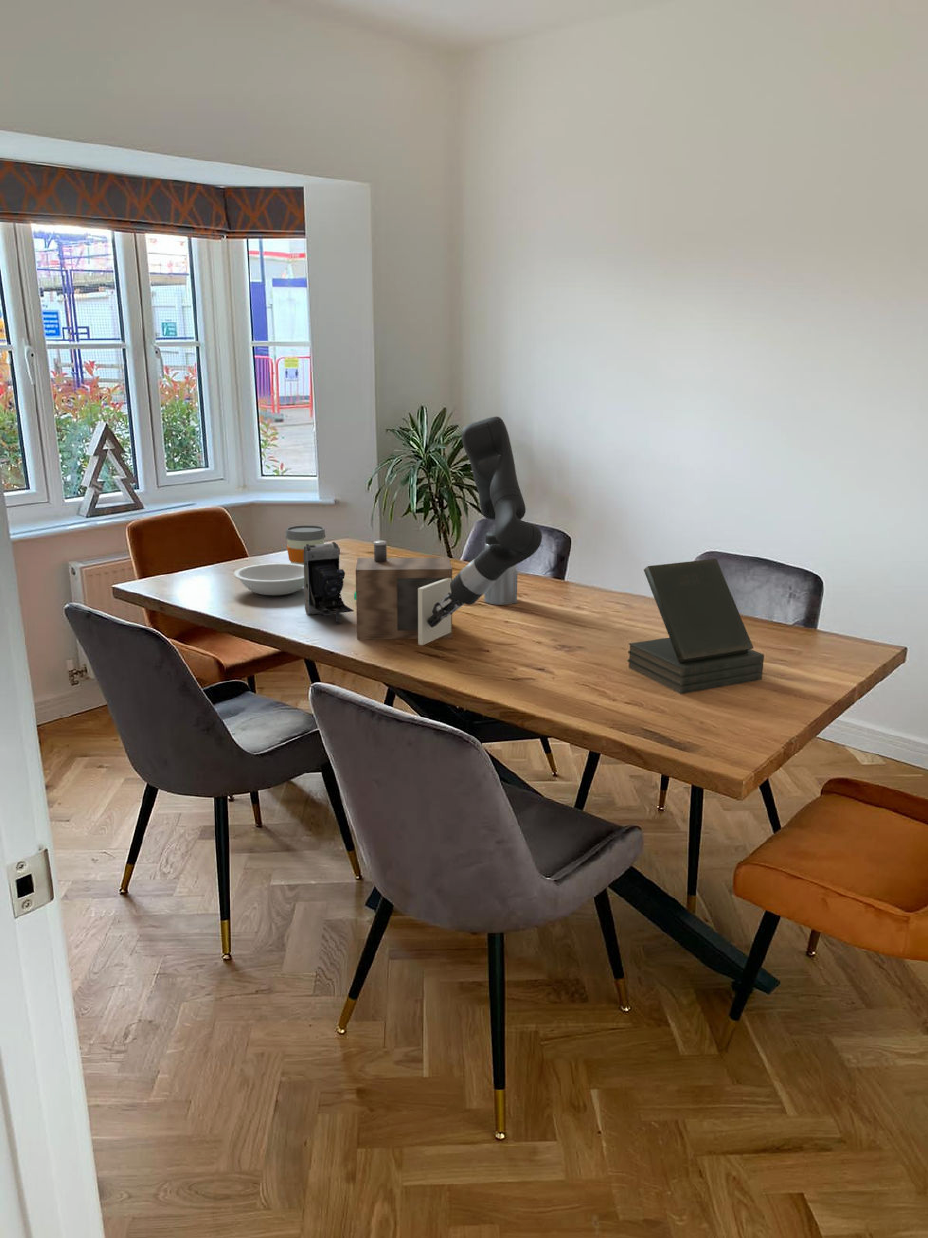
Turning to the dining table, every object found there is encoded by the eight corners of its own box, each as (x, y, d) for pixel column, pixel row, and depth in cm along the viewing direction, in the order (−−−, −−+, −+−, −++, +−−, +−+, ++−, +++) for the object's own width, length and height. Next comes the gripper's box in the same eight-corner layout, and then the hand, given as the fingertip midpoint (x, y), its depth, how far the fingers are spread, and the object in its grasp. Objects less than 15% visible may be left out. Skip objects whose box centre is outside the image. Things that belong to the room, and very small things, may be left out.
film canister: (387, 559, 250) (386, 540, 249) (387, 562, 247) (386, 543, 245) (374, 559, 250) (373, 540, 248) (373, 562, 246) (373, 543, 245)
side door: (448, 630, 244) (449, 577, 240) (452, 631, 243) (453, 577, 240) (418, 644, 233) (417, 588, 229) (422, 645, 232) (422, 589, 228)
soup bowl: (309, 604, 276) (308, 581, 274) (225, 603, 276) (224, 580, 274) (322, 584, 299) (321, 563, 297) (245, 583, 299) (244, 562, 297)
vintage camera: (321, 629, 253) (321, 555, 247) (303, 612, 266) (302, 542, 260) (356, 625, 258) (357, 552, 252) (336, 609, 271) (336, 540, 265)
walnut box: (449, 622, 258) (449, 557, 253) (451, 638, 245) (452, 569, 240) (359, 623, 257) (357, 557, 252) (357, 639, 243) (355, 569, 238)
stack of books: (679, 695, 207) (688, 582, 200) (626, 668, 224) (633, 563, 217) (762, 681, 216) (772, 572, 209) (705, 656, 233) (713, 555, 226)
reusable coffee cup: (323, 579, 305) (321, 532, 301) (283, 578, 305) (281, 532, 301) (329, 570, 317) (327, 525, 313) (291, 569, 317) (289, 524, 313)
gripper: (478, 562, 229) (436, 605, 239) (449, 574, 218) (405, 618, 228) (497, 587, 228) (454, 629, 238) (469, 599, 217) (424, 643, 227)
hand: (430, 623), depth 233 cm, fingers closed
